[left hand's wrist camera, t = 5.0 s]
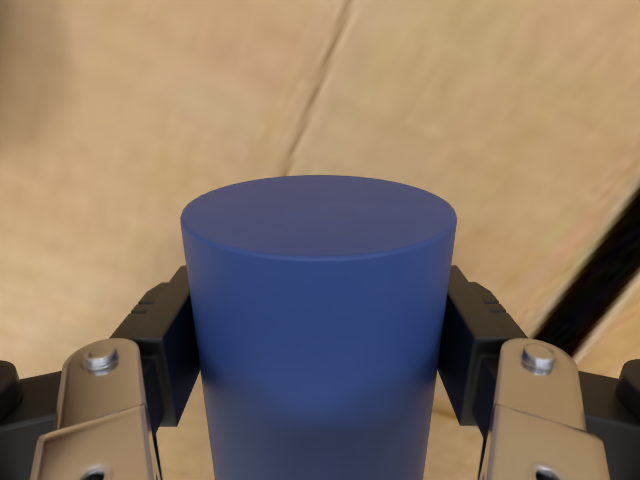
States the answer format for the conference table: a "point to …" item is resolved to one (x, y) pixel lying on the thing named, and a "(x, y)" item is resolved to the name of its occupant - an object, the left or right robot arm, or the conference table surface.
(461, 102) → the conference table surface
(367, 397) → the rod
